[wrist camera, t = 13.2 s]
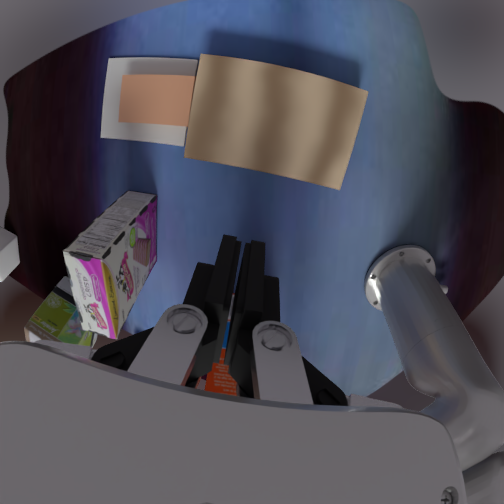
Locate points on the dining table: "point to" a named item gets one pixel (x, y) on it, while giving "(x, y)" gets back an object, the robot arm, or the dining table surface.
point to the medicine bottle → (8, 253)
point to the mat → (113, 91)
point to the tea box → (59, 319)
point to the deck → (273, 119)
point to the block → (156, 99)
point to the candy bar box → (113, 262)
